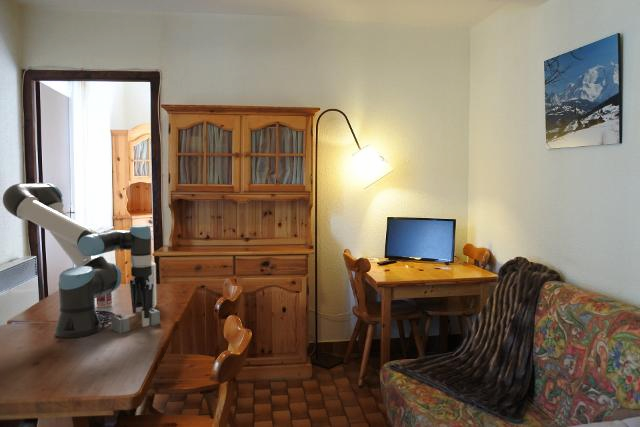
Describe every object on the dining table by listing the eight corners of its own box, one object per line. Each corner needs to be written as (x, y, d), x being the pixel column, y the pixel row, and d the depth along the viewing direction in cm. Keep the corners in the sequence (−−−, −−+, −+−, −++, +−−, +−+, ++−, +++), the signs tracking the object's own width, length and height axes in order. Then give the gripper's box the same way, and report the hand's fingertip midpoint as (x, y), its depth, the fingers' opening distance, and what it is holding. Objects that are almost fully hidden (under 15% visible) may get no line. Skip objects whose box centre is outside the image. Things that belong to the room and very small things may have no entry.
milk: (140, 308, 216) (138, 258, 214) (142, 305, 222) (141, 256, 220) (155, 308, 217) (153, 258, 215) (156, 304, 223) (155, 255, 221)
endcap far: (151, 325, 193) (151, 312, 192) (142, 321, 198) (142, 309, 197) (159, 323, 195) (159, 311, 195) (150, 319, 200) (150, 307, 200)
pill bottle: (109, 303, 224) (108, 279, 223) (113, 306, 219) (113, 281, 218) (94, 305, 220) (94, 280, 219) (98, 308, 216) (98, 283, 215)
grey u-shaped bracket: (120, 326, 191) (120, 313, 191) (129, 330, 186) (129, 317, 186) (111, 328, 189) (111, 315, 188) (120, 333, 184) (120, 319, 183)
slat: (124, 331, 186) (123, 318, 186) (119, 329, 188) (119, 316, 188) (153, 323, 195) (153, 311, 195) (148, 321, 197) (148, 309, 197)
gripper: (161, 267, 189) (162, 327, 191) (139, 261, 200) (141, 318, 202) (143, 269, 183) (144, 331, 185) (121, 264, 195) (123, 322, 197)
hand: (142, 324), depth 194 cm, fingers open, 4 cm apart
